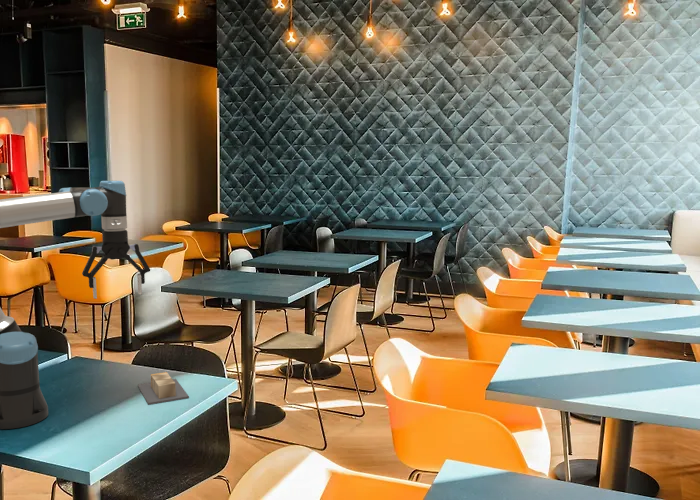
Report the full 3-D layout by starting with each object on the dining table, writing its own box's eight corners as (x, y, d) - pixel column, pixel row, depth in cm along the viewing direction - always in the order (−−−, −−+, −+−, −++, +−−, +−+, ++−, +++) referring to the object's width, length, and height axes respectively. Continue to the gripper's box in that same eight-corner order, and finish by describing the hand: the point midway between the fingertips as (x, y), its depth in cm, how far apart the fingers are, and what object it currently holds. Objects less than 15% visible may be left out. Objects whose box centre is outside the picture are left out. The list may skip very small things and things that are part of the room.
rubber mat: (148, 404, 188) (148, 402, 188) (137, 386, 203) (137, 384, 203) (188, 398, 193) (188, 396, 193) (175, 380, 209) (175, 378, 209)
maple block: (175, 395, 193) (167, 384, 204) (175, 383, 193) (166, 372, 203) (159, 398, 191) (151, 386, 201) (158, 385, 190) (150, 374, 201)
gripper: (72, 232, 191) (76, 301, 194) (157, 229, 203) (160, 294, 206) (70, 230, 198) (74, 297, 201) (153, 227, 209) (155, 290, 212)
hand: (117, 296), depth 203 cm, fingers open, 13 cm apart
